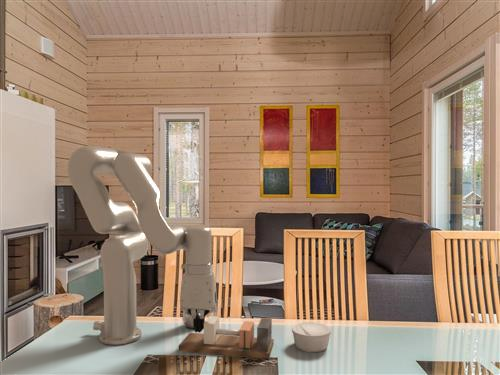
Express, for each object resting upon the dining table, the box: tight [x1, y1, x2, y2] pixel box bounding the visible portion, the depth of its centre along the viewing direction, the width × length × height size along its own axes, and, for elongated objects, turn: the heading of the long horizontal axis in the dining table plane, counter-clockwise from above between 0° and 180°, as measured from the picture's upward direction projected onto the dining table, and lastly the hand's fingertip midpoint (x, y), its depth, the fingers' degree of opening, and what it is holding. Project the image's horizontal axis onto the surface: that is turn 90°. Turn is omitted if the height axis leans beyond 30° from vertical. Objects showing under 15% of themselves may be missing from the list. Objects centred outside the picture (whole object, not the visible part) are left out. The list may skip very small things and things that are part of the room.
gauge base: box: [178, 317, 275, 360], centre depth 121 cm, size 26×10×8 cm, turn 80°
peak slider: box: [238, 320, 255, 350], centre depth 119 cm, size 3×8×5 cm, turn 169°
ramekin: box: [291, 321, 332, 353], centre depth 122 cm, size 11×11×5 cm
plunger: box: [203, 315, 240, 345], centre depth 121 cm, size 10×6×6 cm, turn 80°
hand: (199, 330), depth 122 cm, fingers closed
